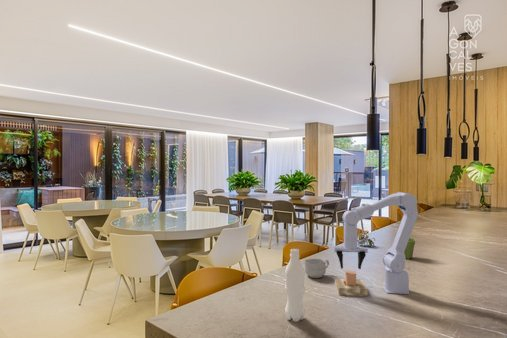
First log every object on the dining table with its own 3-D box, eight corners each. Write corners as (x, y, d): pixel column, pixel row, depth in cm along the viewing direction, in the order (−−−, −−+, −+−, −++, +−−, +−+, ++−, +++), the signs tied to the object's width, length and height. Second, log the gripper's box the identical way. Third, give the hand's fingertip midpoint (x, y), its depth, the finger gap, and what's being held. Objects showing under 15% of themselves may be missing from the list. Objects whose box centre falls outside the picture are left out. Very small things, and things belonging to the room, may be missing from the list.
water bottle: (302, 313, 119) (302, 247, 119) (306, 323, 112) (306, 252, 112) (283, 314, 119) (283, 247, 119) (286, 323, 112) (286, 252, 112)
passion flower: (360, 253, 224) (350, 238, 228) (369, 248, 231) (359, 234, 235) (371, 247, 216) (360, 232, 220) (380, 242, 222) (369, 227, 227)
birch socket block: (361, 285, 148) (361, 279, 148) (367, 296, 136) (367, 289, 136) (335, 284, 149) (335, 278, 149) (338, 294, 137) (338, 287, 137)
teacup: (309, 280, 155) (309, 264, 155) (300, 273, 165) (300, 258, 165) (335, 278, 159) (335, 262, 159) (325, 271, 169) (325, 256, 169)
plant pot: (411, 255, 200) (411, 237, 200) (419, 260, 188) (419, 241, 188) (392, 254, 201) (392, 236, 201) (398, 260, 190) (398, 241, 190)
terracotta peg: (354, 288, 144) (354, 270, 144) (356, 291, 140) (356, 273, 140) (345, 288, 144) (345, 270, 144) (346, 291, 140) (346, 273, 140)
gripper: (335, 239, 139) (335, 270, 139) (369, 240, 138) (369, 271, 138) (333, 236, 146) (333, 265, 146) (365, 236, 145) (365, 266, 145)
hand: (350, 268), depth 143 cm, fingers open, 7 cm apart
